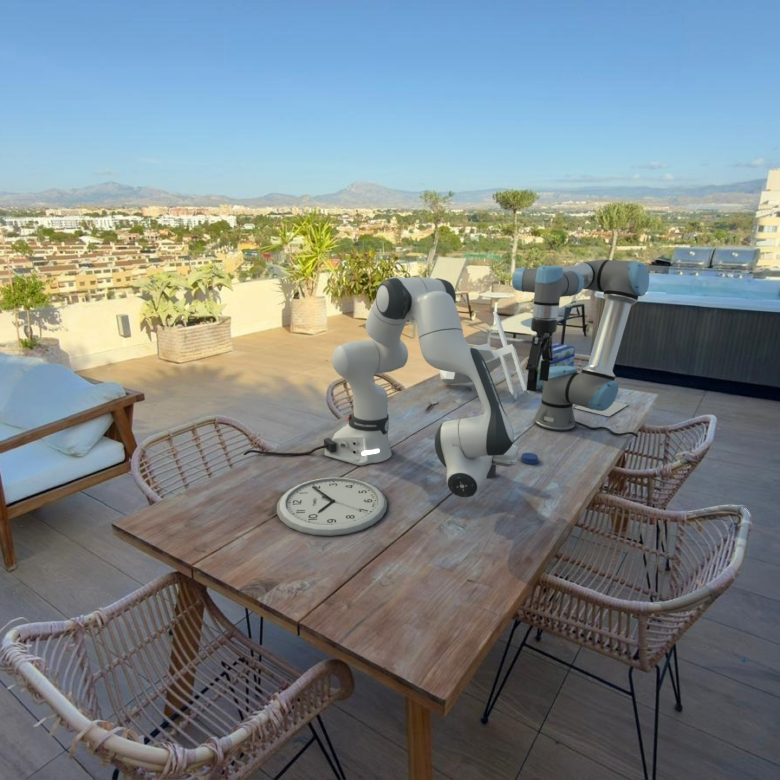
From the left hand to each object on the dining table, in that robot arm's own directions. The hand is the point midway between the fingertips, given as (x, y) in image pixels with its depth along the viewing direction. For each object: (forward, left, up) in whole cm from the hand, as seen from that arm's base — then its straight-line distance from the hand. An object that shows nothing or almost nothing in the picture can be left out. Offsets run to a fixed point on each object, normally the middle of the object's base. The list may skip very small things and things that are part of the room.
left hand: (484, 439), depth 148 cm
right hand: (+11, +26, +10) cm, 30 cm away
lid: (+11, +26, -15) cm, 32 cm away
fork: (-33, +66, -16) cm, 76 cm away
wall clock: (-36, -24, -16) cm, 46 cm away
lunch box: (+13, +115, -16) cm, 117 cm away
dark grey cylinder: (0, +11, -16) cm, 20 cm away
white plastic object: (-18, +95, -16) cm, 98 cm away
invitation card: (+35, +94, -16) cm, 102 cm away
